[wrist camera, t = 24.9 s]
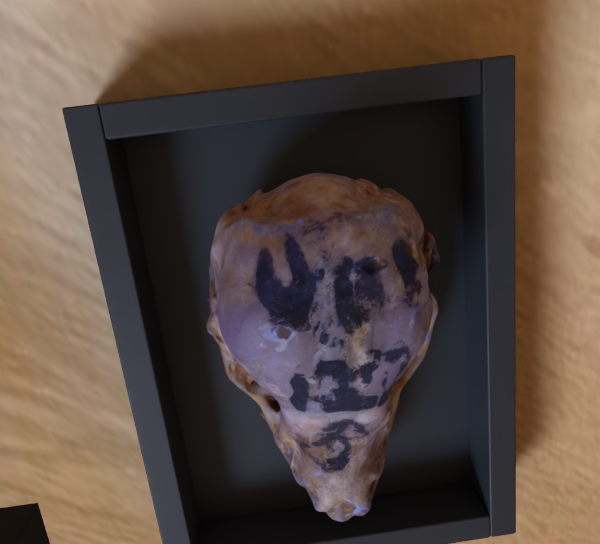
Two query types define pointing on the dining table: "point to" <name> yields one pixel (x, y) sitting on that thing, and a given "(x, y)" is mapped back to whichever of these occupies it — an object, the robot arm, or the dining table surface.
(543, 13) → the dining table surface
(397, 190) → the tray
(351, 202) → the skull
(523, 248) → the dining table surface
